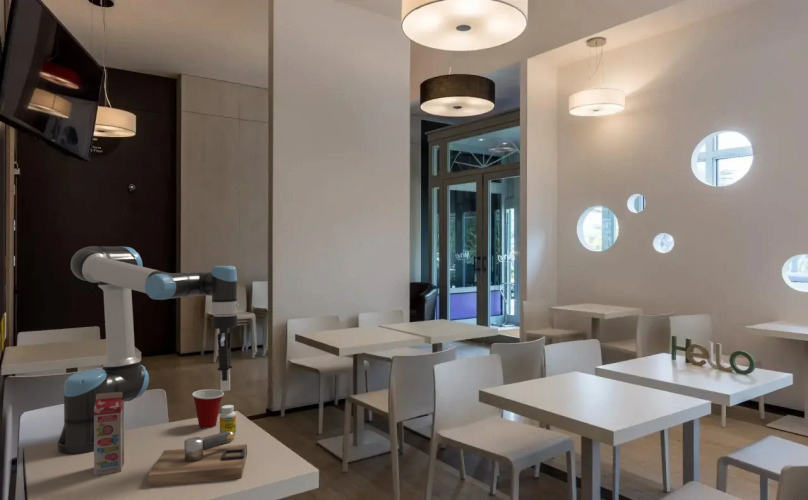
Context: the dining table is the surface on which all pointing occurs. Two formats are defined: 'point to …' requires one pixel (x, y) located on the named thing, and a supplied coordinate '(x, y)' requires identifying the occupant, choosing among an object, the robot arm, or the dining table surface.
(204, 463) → the lever stand
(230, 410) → the supplement bottle
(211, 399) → the plastic cup
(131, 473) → the dining table surface
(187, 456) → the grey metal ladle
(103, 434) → the juice carton
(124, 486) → the dining table surface
